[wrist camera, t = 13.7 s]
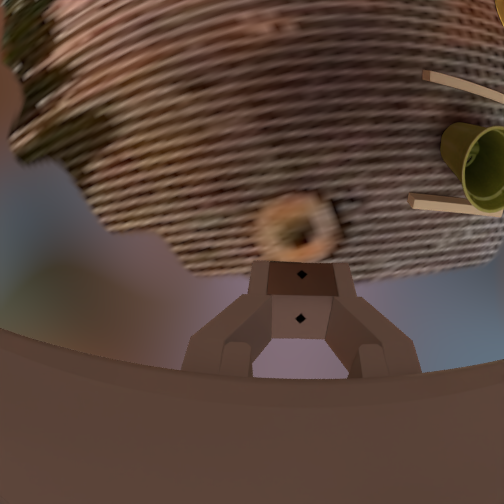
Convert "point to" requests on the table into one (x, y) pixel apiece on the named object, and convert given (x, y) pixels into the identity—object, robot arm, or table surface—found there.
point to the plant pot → (477, 163)
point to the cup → (500, 9)
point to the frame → (443, 201)
